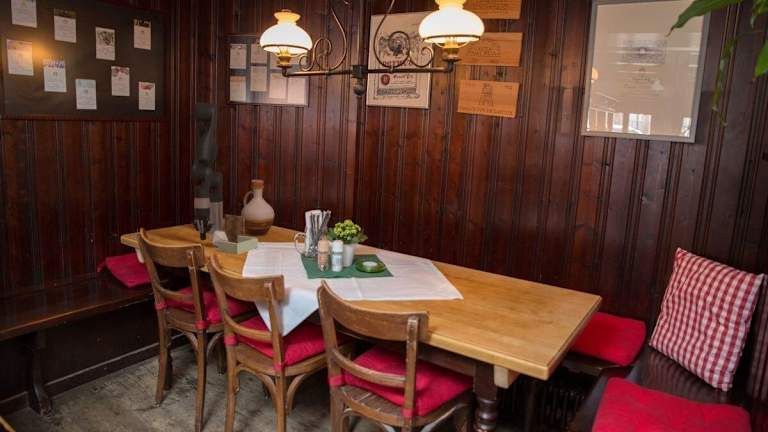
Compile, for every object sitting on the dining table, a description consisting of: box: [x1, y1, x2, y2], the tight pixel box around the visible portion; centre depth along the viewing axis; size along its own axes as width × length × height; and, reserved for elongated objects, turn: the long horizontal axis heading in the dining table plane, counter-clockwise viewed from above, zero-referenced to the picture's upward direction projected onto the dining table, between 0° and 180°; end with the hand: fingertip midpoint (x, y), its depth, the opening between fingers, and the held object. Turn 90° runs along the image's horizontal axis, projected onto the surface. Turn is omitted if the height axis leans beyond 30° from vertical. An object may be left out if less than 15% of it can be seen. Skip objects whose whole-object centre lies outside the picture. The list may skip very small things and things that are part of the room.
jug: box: [240, 179, 275, 237], centre depth 315 cm, size 20×18×30 cm
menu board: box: [224, 213, 246, 243], centre depth 295 cm, size 12×5×14 cm, turn 65°
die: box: [208, 230, 228, 248], centre depth 286 cm, size 8×9×10 cm
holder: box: [217, 235, 259, 255], centre depth 281 cm, size 12×15×5 cm
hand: (203, 239), depth 291 cm, fingers closed
